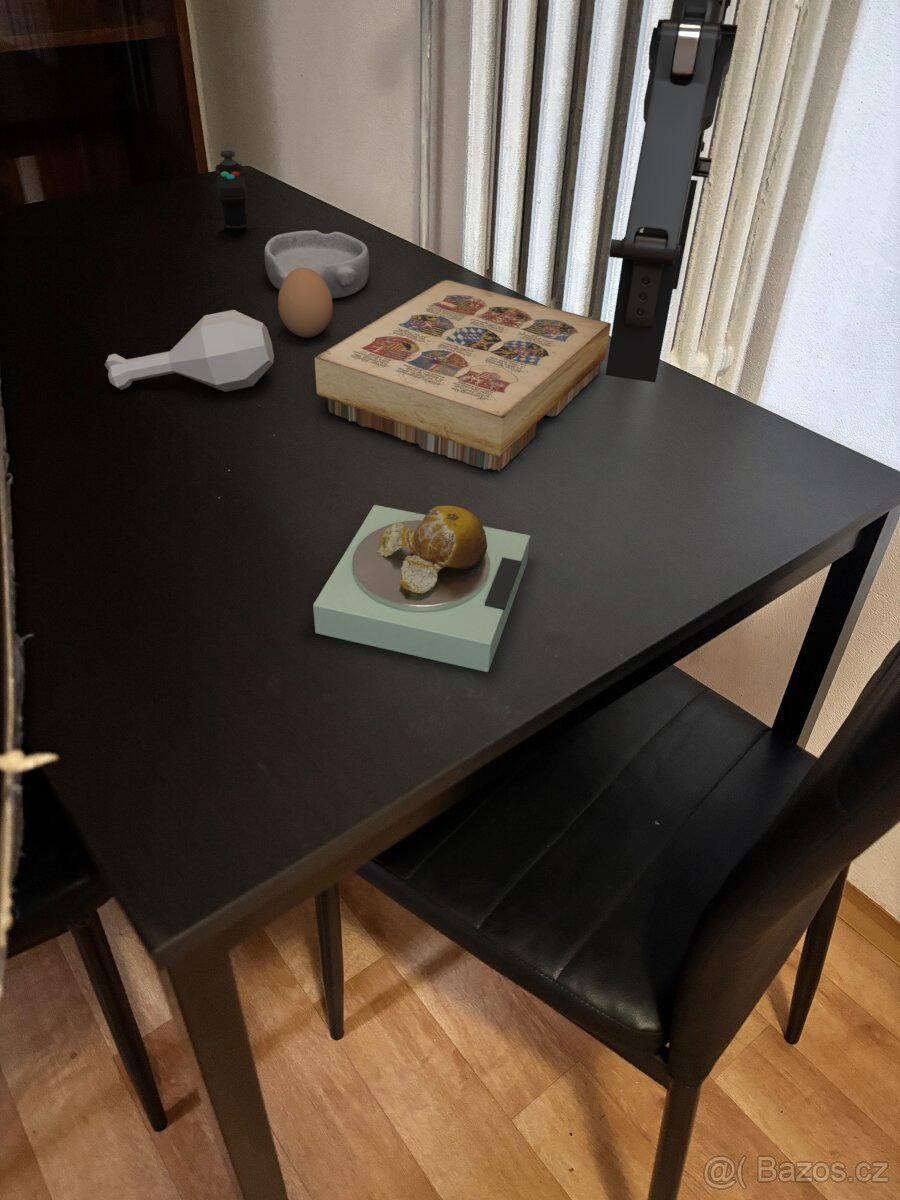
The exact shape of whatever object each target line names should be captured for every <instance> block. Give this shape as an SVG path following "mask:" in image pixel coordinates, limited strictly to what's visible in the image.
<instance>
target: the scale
mask: <svg viewBox="0 0 900 1200" xmlns="http://www.w3.org/2000/svg"><path fill="white" fill-rule="evenodd" d="M426 515H427V514H423V513H418V512H412V511H408V510H403V509H397V508H393V507H388V506H382V505H377V504H374V505H373V506H372V508H371V509H370V511H369V513H368V514H367V516H366V518H365V519H364V520H363V522H362V524H361V525H360V527H359V529H358V530H357V532H356V534H355V536H354V537H353V539H352V540H351V542H350V543H349V545H348V547H347V549H346V550H345V552H344V553H343V555H342V557H340V558H341V559H340V560H339V562H338V563H337V565H336V566H335V568H334V570H333V571H332V573H331V575H330V576H329V578H328V580H327V581H326V583H325V584H324V586H323V587H322V589H321V591H320V593H319V594H318V596H317V598H316V599H315V601H314V603H312V607H313V608H312V609H313V621H314V633H315V634H318V635H321V636H326V637H331V638H334V639H339V640H343V641H348V642H352V643H356V644H357V643H358V644H360V645H361V644H362V645H364V646H365V645H366V646H370V647H375V648H378V649H383V650H388V651H393V652H395V653H399V654H406V655H410V656H413V657H418V658H424V659H427V660H432V661H435V662H436V661H437V662H441V663H445V664H449V665H453V666H457V667H462V668H467V669H471V670H475V671H481V672H484V673H489V672H490V668H491V666H492V663H493V660H494V657H495V654H496V652H497V648H498V646H499V644H500V641H501V637H502V635H503V631H504V630H505V626H506V623H507V621H508V617H509V615H510V611H511V609H512V607H513V603H514V602H515V601H514V600H515V598H516V596H517V592H518V589H519V587H520V584H521V581H522V578H523V577H524V573H525V570H526V567H527V564H528V559H529V551H530V541H531V535H530V534H525V533H520V532H515V531H509V530H505V529H499V528H494V527H490V526H484V525H482V526H483V529H484V531H485V535H486V541H487V550H486V551H487V553H488V556H489V560H490V571H489V576H488V580H487V582H486V584H485V585H484V587H483V588H482V589H481V590H480V591H479V592H478V593H477V594H476V595H475V596H474V597H472V598H471V599H469V600H468V601H466V602H464V603H462V604H459V605H457V606H454V607H451V608H447V609H443V610H437V611H408V610H402V609H398V608H394V607H390V606H388V605H385V604H383V603H381V602H379V601H377V600H375V599H373V598H372V597H370V596H369V595H368V594H367V593H365V592H364V591H363V590H362V588H361V587H360V586H359V585H358V583H357V581H356V580H355V577H354V574H353V566H352V562H353V555H354V552H355V550H356V548H357V547H358V545H359V544H360V542H361V541H362V540H363V539H364V538H365V537H367V536H368V535H369V534H371V533H372V532H374V531H376V530H378V529H380V528H382V527H384V526H387V525H390V524H394V523H398V522H404V521H413V520H422V519H423V518H424V517H425V516H426Z"/></svg>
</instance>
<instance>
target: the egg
mask: <svg viewBox="0 0 900 1200" xmlns="http://www.w3.org/2000/svg"><path fill="white" fill-rule="evenodd" d="M277 297H278V298H277V307H278V308H277V309H278V313H279V314H278V315H279V317H280V320H281V321H282V323H283V325H284V326H285V327H286V329H288V330H289V331H290V332H291V333H292V334H293V335H294V336H297V337H300V338H303V339H312V338H314V337H317V336H319V335H320V334H322V333H323V332H324V331H325V330H326V329H327V327H328V326H329V324H330V322H331V320H332V317H333V314H334V313H333V311H334V305H333V298H332V297H331V293H330V291H329V289H328V287H327V285H326V283H325V281H324V280H323V279H322V277H321V276H320V275H319V274H318V273H317V272H315V271H313V270H312V269H309V268H298V269H295V270H294V271H292V272H290V273H289V274H288V275H287V277H286V278H285V280H284V282H283V283H282V286H281V289H280V290H279V292H278V296H277Z"/></svg>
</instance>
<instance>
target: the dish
mask: <svg viewBox="0 0 900 1200" xmlns="http://www.w3.org/2000/svg"><path fill="white" fill-rule="evenodd" d="M264 264H265V270H266V273H267V274H266V275H267V277H268V280H269V282H270V283H271V284H272V286H273V287H275V288H276V289H277V290H279V291H280V289H281V286H282V283H283V282H284V280H285V278H286V277H287V275H288V274H289V273H290V272H292V271H294V270H295V269H298V268H309V269H312V270H313V271H315V272H317V273H318V274H319V275H320V276H321V277H322V279H323V280H324V281H325V283H326V285H327V287H328V289H329V291H330V293H331V297H332V299H338V298H344V297H347V296H351V295H353V294H356V293H357V292H359V291H360V290H362V289H363V288H364V287H365V286H366V284H367V282H368V279H369V275H370V254H369V249H368V247H367V245H366V243H364V242H363V241H361V240H359V239H357V238H356V237H353V236H351V235H348V234H346V233H344V232H340V231H333V232H330V233H323V232H320V231H319V230H313V229H312V230H299V231H291V232H285V233H280V234H277V235H275V236H273V237H270V239H269V240H268V241H267V242H266V244H265V246H264Z"/></svg>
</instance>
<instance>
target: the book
mask: <svg viewBox="0 0 900 1200" xmlns="http://www.w3.org/2000/svg"><path fill="white" fill-rule="evenodd" d="M611 327H612V323H611V322H607V321H604V320H599V319H596V318H592V317H588V316H584V315H581V314H577V313H574V312H570V311H566V310H562V309H558V308H555V307H551V306H547V305H543V304H540V303H536V302H533V301H528V300H524V299H521V298H517V297H514V296H510V295H506V294H503V293H498V292H496V291H491V290H488V289H484V288H480V287H477V286H472V285H469V284H466V283H461V282H458V281H455V280H454V281H453V280H451V279H447V278H444V279H443V280H441V281H439V282H437V283H436V284H435V285H433V286H431V287H429V288H427V289H426V290H424V291H423V292H421V293H419V294H418V295H416V296H415V297H413V298H411V299H410V300H408V301H406V302H405V303H403V304H401V305H400V306H398V307H396V308H395V309H393V310H391V311H389V312H387V313H386V314H385V315H383V316H382V317H380V318H378V319H376V320H375V321H373V322H372V323H370V324H368V325H366V326H365V327H363V328H361V329H359V330H357V331H356V332H354V333H353V334H351V335H350V336H348V337H347V338H345V339H343V340H342V341H340V342H338V343H337V344H334V345H333V346H332V347H330V348H328V349H327V350H324V351H323V352H321V353H320V354H318V355H316V356H314V368H315V369H314V370H315V386H316V387H315V389H316V396H319V397H322V398H324V399H327V410H328V412H329V413H331V414H332V415H336V416H338V417H339V418H344V419H346V420H347V421H349V422H354V423H357V424H358V426H360V427H363V428H364V427H365V428H370V429H373V430H376V431H380V432H383V433H385V434H388V435H391V436H392V437H396V438H400V439H401V441H406V442H408V443H412V444H415V445H416V444H417V445H419V448H420V449H422V450H424V451H428V452H430V453H435V454H437V455H442V456H445V457H447V458H450V459H452V460H458V461H459V462H460V461H461V462H463V463H465V464H467V465H470V466H474V467H477V468H481V469H483V470H489V469H492V471H494V470H496V471H498V472H500V471H501V470H502V469H503V468H504V467H506V465H507V464H508V463H510V460H513V459H514V458H515V457H516V456H517V455H518V454H519V453H520V452H521V451H522V450H523V449H525V448H526V446H528V444H529V443H530V442H531V441H532V440H533V438H535V437H536V430H537V423H538V422H539V421H540V420H541V419H542V418H543V417H544V416H545V415H546V416H548V417H556V416H558V415H559V414H560V413H561V412H562V411H563V409H565V407H567V405H568V404H569V403H570V402H571V401H572V400H573V399H574V398H575V397H576V396H578V394H580V392H581V390H583V388H585V387H586V386H588V384H589V383H590V382H592V380H594V378H595V377H596V376H597V375H598V374H599V373H600V369H601V365H602V362H603V361H604V360H605V359H606V358H607V351H608V345H609V341H610V332H611Z"/></svg>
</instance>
